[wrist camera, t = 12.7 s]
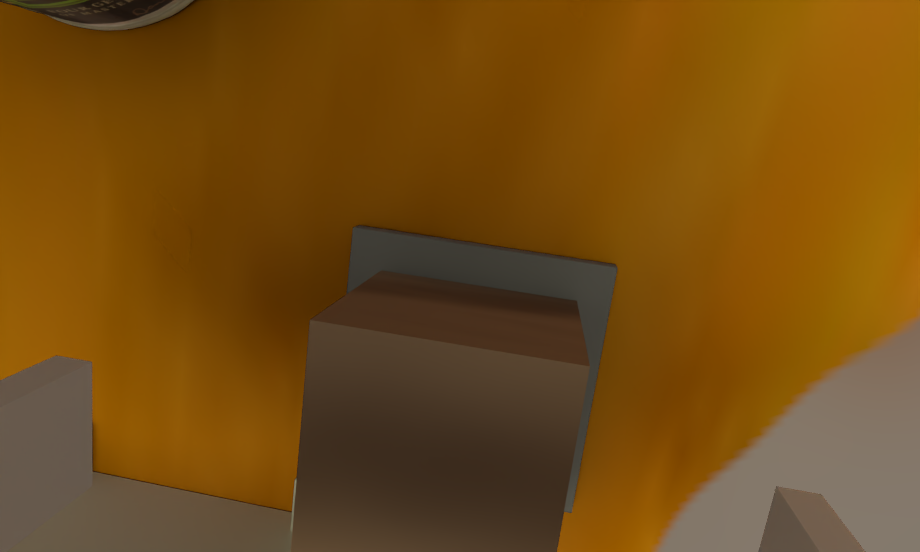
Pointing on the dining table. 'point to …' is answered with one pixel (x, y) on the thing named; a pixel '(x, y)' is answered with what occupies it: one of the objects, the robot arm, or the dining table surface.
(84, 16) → the coffee can
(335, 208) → the dining table surface
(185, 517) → the screen
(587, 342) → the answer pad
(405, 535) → the brown cube
